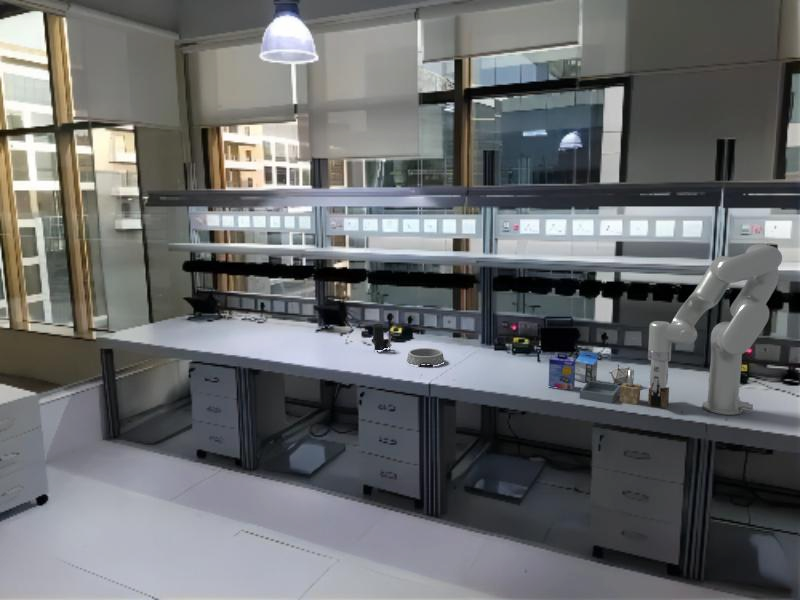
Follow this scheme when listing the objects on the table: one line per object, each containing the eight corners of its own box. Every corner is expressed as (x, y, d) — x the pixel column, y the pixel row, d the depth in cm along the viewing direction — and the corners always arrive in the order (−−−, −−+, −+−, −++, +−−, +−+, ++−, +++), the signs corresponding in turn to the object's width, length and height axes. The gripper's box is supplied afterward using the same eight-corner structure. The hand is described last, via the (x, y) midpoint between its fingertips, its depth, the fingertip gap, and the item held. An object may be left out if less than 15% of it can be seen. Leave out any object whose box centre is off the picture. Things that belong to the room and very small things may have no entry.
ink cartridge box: (547, 388, 235) (548, 353, 232) (549, 384, 240) (550, 350, 237) (573, 390, 231) (574, 355, 229) (574, 386, 236) (576, 352, 234)
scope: (391, 323, 298) (380, 327, 290) (391, 349, 301) (381, 354, 292) (378, 322, 303) (367, 325, 294) (378, 348, 305) (367, 352, 296)
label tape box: (572, 380, 245) (573, 351, 243) (578, 378, 248) (579, 350, 246) (591, 384, 238) (592, 355, 237) (596, 382, 241) (598, 353, 239)
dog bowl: (445, 367, 267) (445, 356, 266) (406, 367, 267) (405, 356, 267) (443, 358, 284) (443, 347, 283) (406, 358, 284) (406, 347, 283)
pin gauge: (632, 400, 218) (634, 369, 216) (631, 402, 216) (633, 371, 215) (627, 399, 219) (628, 369, 217) (626, 401, 218) (627, 370, 216)
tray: (620, 393, 227) (620, 385, 227) (612, 403, 215) (612, 395, 215) (589, 388, 233) (589, 381, 233) (579, 398, 222) (579, 390, 221)
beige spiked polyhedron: (616, 392, 240) (609, 369, 244) (637, 387, 236) (630, 364, 241) (611, 387, 233) (605, 364, 237) (633, 381, 229) (626, 358, 234)
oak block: (639, 400, 219) (640, 384, 218) (636, 404, 214) (637, 389, 213) (622, 397, 222) (623, 382, 221) (619, 402, 217) (620, 386, 216)
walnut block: (668, 403, 214) (669, 387, 214) (665, 408, 210) (666, 392, 209) (650, 400, 218) (651, 385, 217) (648, 405, 213) (648, 389, 212)
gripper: (667, 362, 202) (664, 411, 205) (673, 351, 216) (671, 398, 219) (644, 359, 206) (641, 408, 209) (652, 349, 220) (650, 395, 223)
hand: (657, 402), depth 214 cm, fingers closed on walnut block, 6 cm apart
